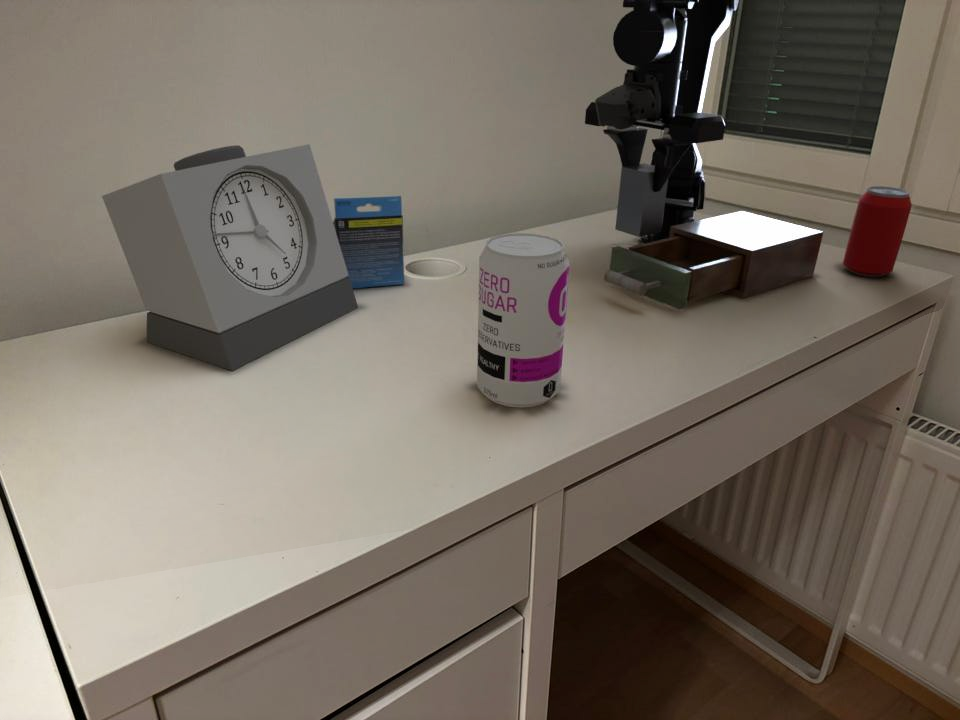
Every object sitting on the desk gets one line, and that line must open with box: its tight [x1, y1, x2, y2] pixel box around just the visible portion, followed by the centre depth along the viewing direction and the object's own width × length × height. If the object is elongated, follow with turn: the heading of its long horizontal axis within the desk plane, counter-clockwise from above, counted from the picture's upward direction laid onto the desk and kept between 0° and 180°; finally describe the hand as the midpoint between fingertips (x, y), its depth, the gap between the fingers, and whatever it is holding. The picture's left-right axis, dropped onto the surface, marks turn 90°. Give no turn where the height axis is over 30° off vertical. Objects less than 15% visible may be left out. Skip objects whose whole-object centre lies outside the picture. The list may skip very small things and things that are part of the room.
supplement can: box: [476, 232, 571, 409], centre depth 67 cm, size 8×8×15 cm
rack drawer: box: [603, 235, 746, 311], centre depth 94 cm, size 20×12×5 cm, turn 126°
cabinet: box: [669, 210, 824, 299], centre depth 102 cm, size 17×14×7 cm
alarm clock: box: [101, 143, 359, 372], centre depth 80 cm, size 20×16×20 cm
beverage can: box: [842, 185, 913, 278], centre depth 102 cm, size 7×7×12 cm
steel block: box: [614, 162, 668, 238], centre depth 95 cm, size 4×4×8 cm
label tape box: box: [332, 195, 405, 290], centre depth 94 cm, size 9×4×12 cm, turn 106°
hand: (643, 188), depth 94 cm, fingers closed on steel block, 4 cm apart
